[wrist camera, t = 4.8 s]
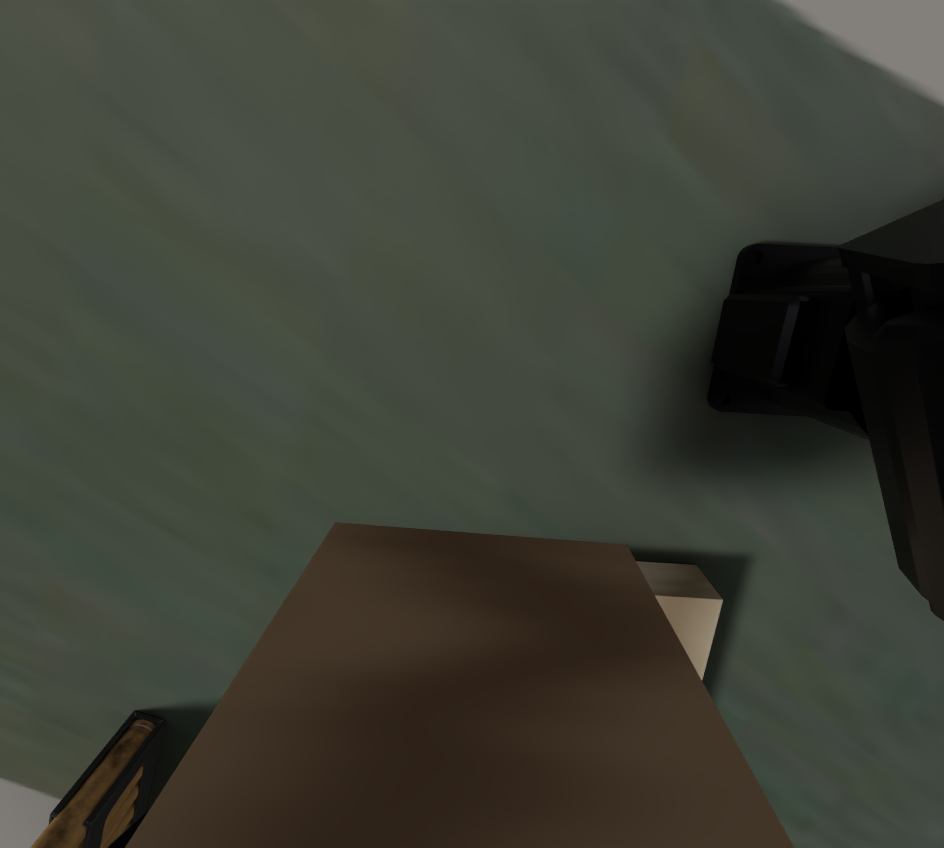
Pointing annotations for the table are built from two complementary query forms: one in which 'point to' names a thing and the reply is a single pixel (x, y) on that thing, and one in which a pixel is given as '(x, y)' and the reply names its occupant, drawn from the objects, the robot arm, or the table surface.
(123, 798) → the ammunition clip
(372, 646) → the walnut cube
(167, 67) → the table surface
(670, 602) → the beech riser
